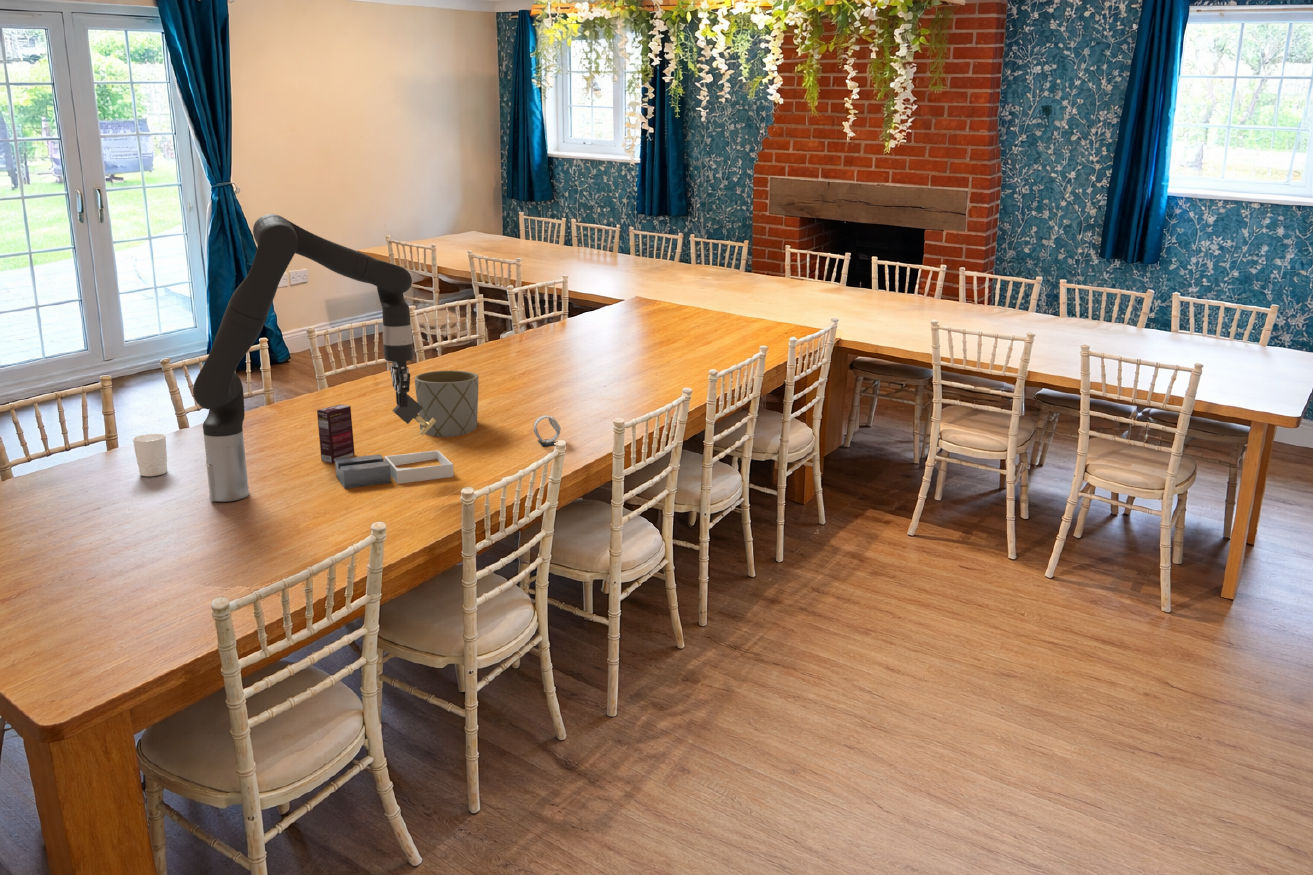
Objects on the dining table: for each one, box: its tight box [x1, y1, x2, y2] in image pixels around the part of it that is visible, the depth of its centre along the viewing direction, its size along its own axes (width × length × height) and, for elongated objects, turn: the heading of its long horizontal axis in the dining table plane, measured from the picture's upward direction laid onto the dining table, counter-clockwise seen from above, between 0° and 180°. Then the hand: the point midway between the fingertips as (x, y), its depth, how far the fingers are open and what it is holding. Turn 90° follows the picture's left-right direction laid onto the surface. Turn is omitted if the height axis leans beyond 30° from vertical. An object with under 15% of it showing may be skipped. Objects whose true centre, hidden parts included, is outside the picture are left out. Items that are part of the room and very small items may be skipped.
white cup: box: [132, 433, 168, 477], centre depth 271 cm, size 8×8×10 cm
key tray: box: [383, 450, 455, 485], centre depth 275 cm, size 15×15×4 cm
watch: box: [533, 414, 562, 448], centre depth 296 cm, size 6×8×11 cm
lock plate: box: [334, 454, 392, 489], centre depth 268 cm, size 12×12×5 cm
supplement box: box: [316, 403, 355, 465], centre depth 283 cm, size 9×5×16 cm, turn 149°
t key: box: [391, 393, 436, 436], centre depth 271 cm, size 6×2×10 cm
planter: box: [414, 370, 479, 438], centre depth 307 cm, size 19×19×20 cm
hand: (402, 405), depth 269 cm, fingers closed on t key, 2 cm apart
